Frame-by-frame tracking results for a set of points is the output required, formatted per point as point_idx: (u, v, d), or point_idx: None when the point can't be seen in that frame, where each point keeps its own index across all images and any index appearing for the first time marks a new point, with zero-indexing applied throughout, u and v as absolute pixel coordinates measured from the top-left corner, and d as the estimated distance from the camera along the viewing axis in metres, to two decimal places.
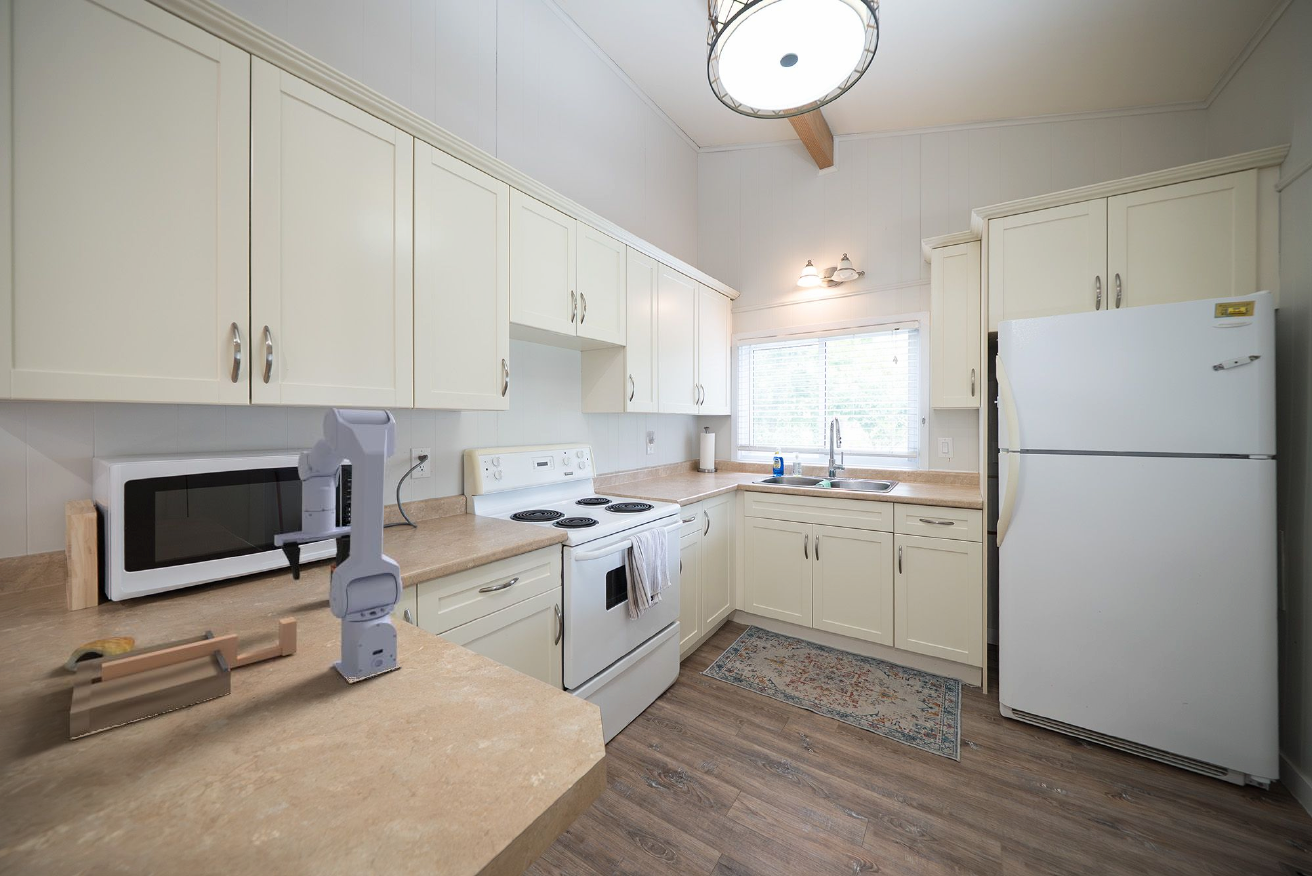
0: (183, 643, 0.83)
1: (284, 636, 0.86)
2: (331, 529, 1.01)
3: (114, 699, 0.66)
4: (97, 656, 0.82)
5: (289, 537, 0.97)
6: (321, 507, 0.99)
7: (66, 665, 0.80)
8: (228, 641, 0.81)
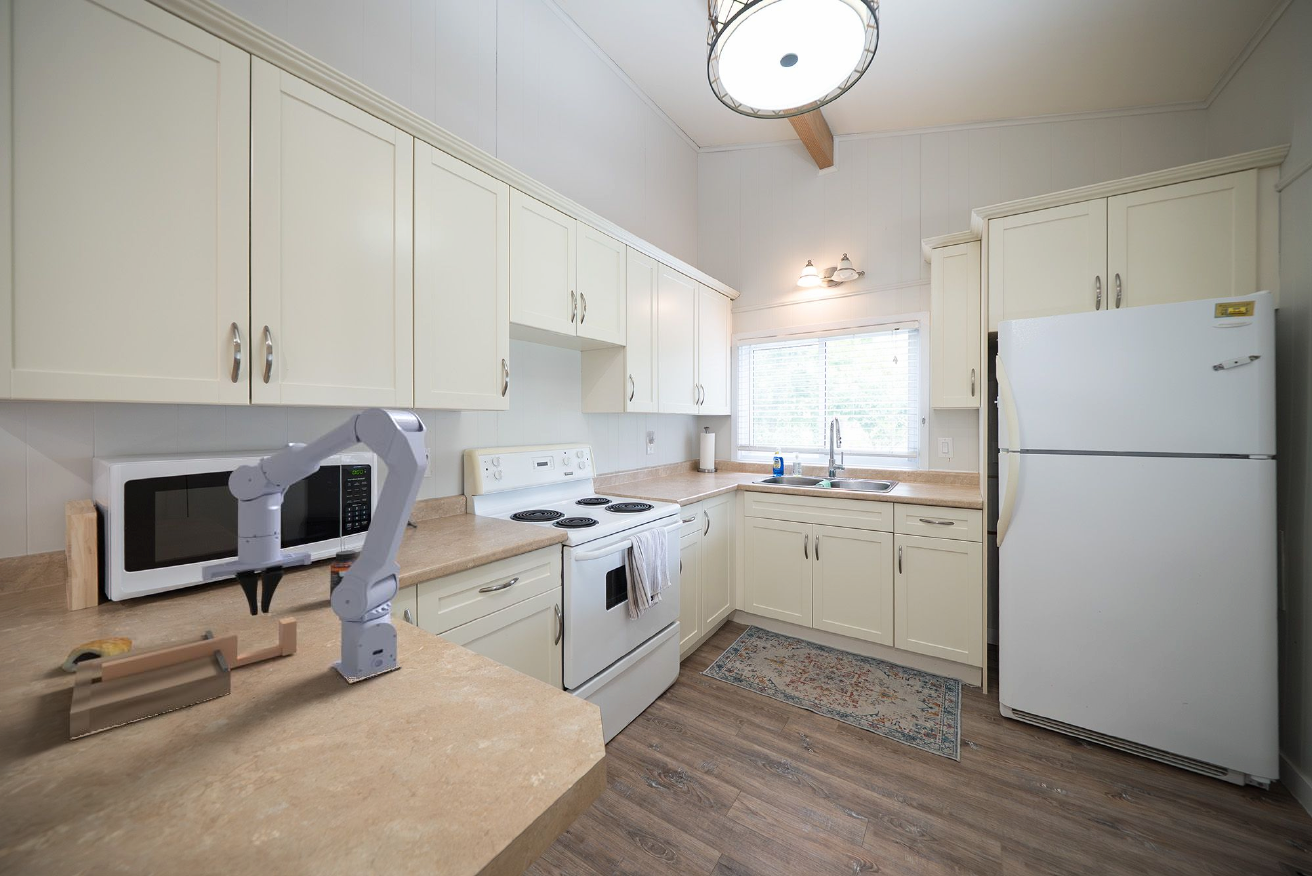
0: (183, 643, 0.83)
1: (284, 636, 0.86)
2: (275, 558, 0.84)
3: (114, 699, 0.66)
4: (94, 657, 0.82)
5: (220, 570, 0.80)
6: (273, 530, 0.84)
7: (63, 665, 0.80)
8: (228, 641, 0.81)
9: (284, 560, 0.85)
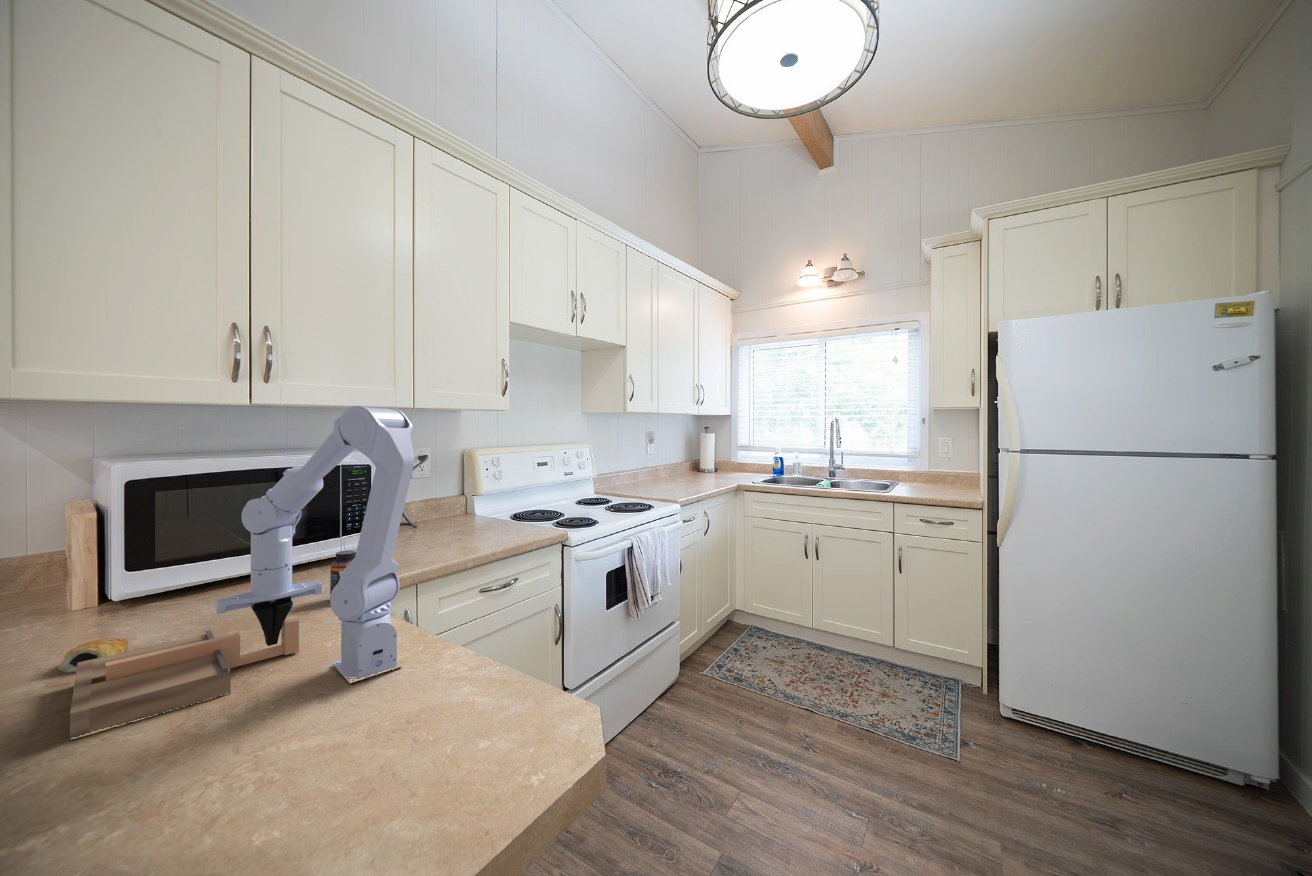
0: (183, 643, 0.83)
1: (286, 635, 0.86)
2: (287, 590, 0.86)
3: (114, 699, 0.66)
4: (91, 657, 0.81)
5: (233, 603, 0.81)
6: (284, 562, 0.85)
7: (60, 666, 0.80)
8: (231, 640, 0.81)
9: (296, 591, 0.87)
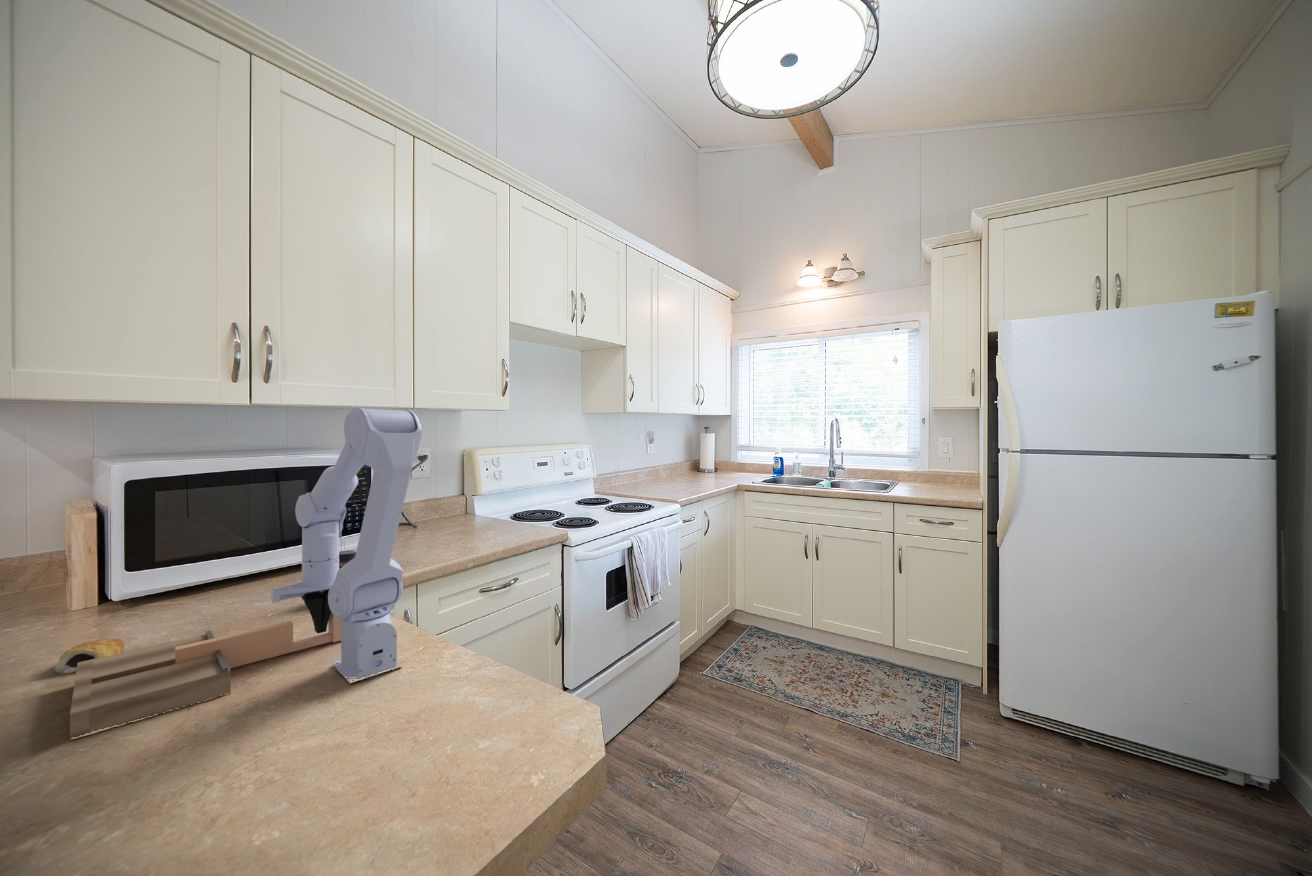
0: (183, 643, 0.83)
1: (334, 624, 0.92)
2: (335, 581, 0.91)
3: (114, 699, 0.66)
4: (88, 658, 0.81)
5: (287, 592, 0.86)
6: (327, 556, 0.89)
7: (56, 667, 0.79)
8: (285, 628, 0.87)
9: None
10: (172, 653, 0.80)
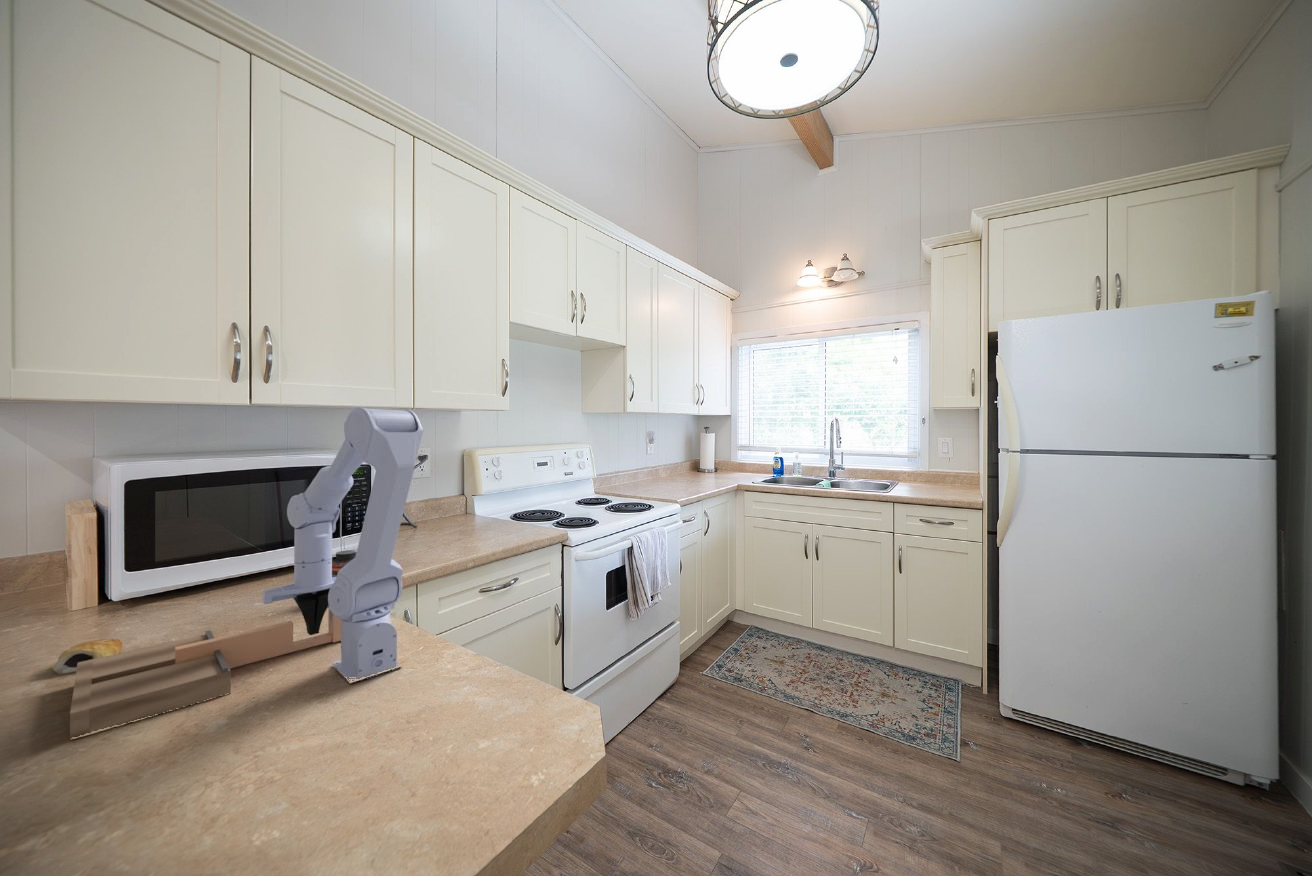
0: (183, 643, 0.83)
1: (334, 624, 0.92)
2: (327, 582, 0.90)
3: (114, 699, 0.66)
4: (86, 658, 0.81)
5: (279, 594, 0.86)
6: (320, 557, 0.89)
7: (54, 668, 0.79)
8: (285, 628, 0.87)
9: None
10: (172, 653, 0.80)
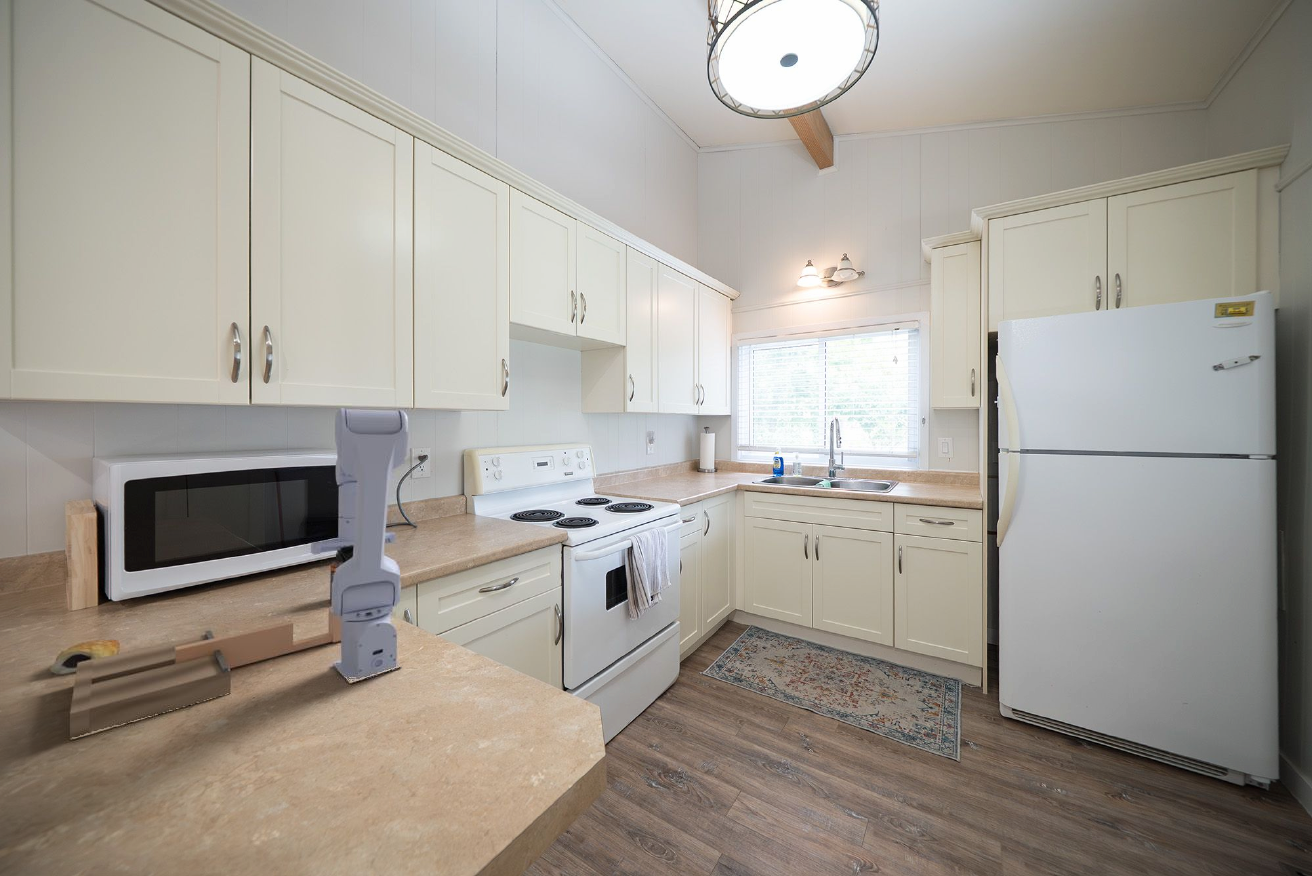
0: (183, 643, 0.83)
1: (334, 624, 0.92)
2: None
3: (114, 699, 0.66)
4: (84, 658, 0.81)
5: (326, 545, 0.93)
6: (355, 514, 0.95)
7: (52, 668, 0.79)
8: (285, 628, 0.87)
9: None
10: (172, 653, 0.80)
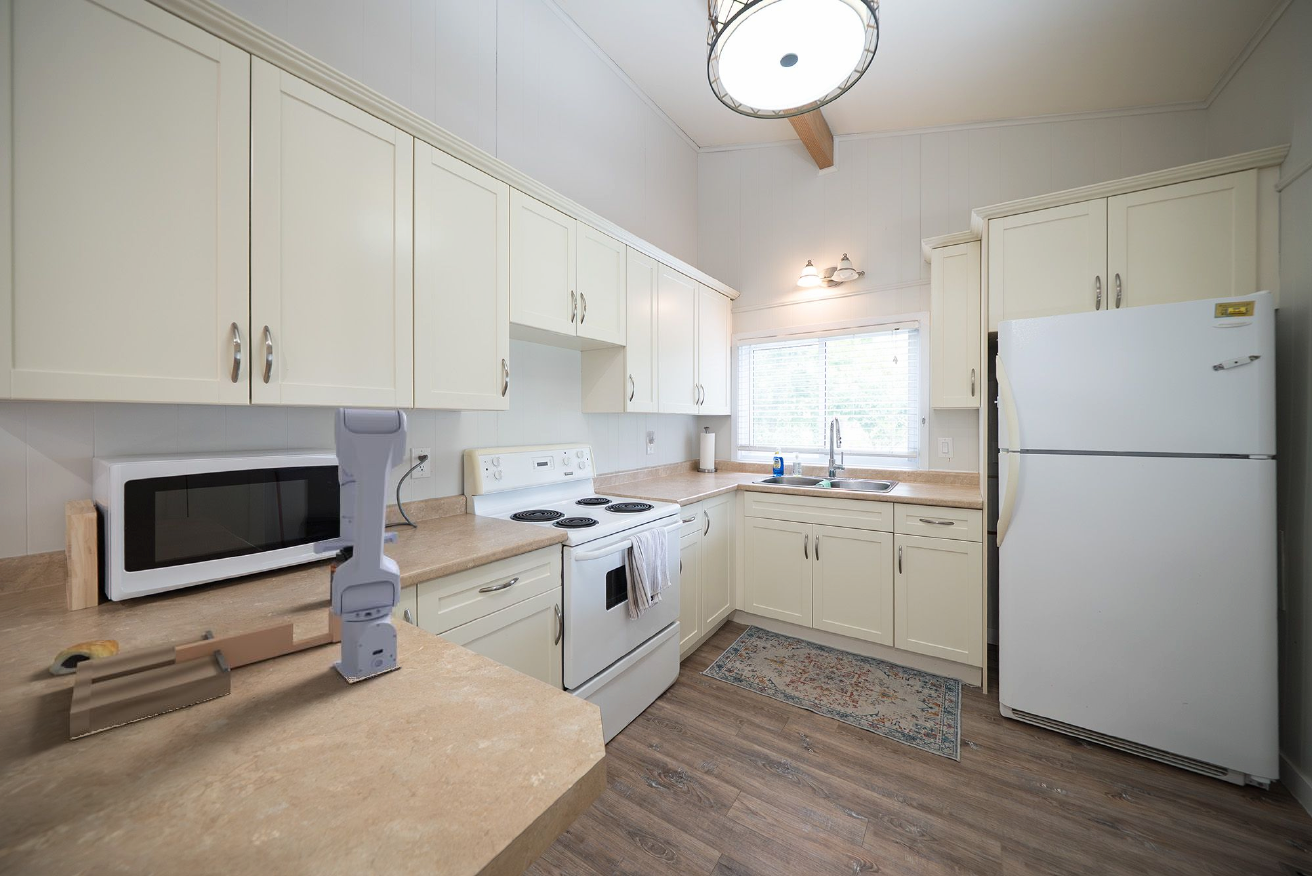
0: (183, 643, 0.83)
1: (334, 624, 0.92)
2: None
3: (114, 699, 0.66)
4: (83, 659, 0.81)
5: (329, 545, 0.94)
6: None
7: (51, 669, 0.79)
8: (285, 628, 0.87)
9: None
10: (172, 653, 0.80)
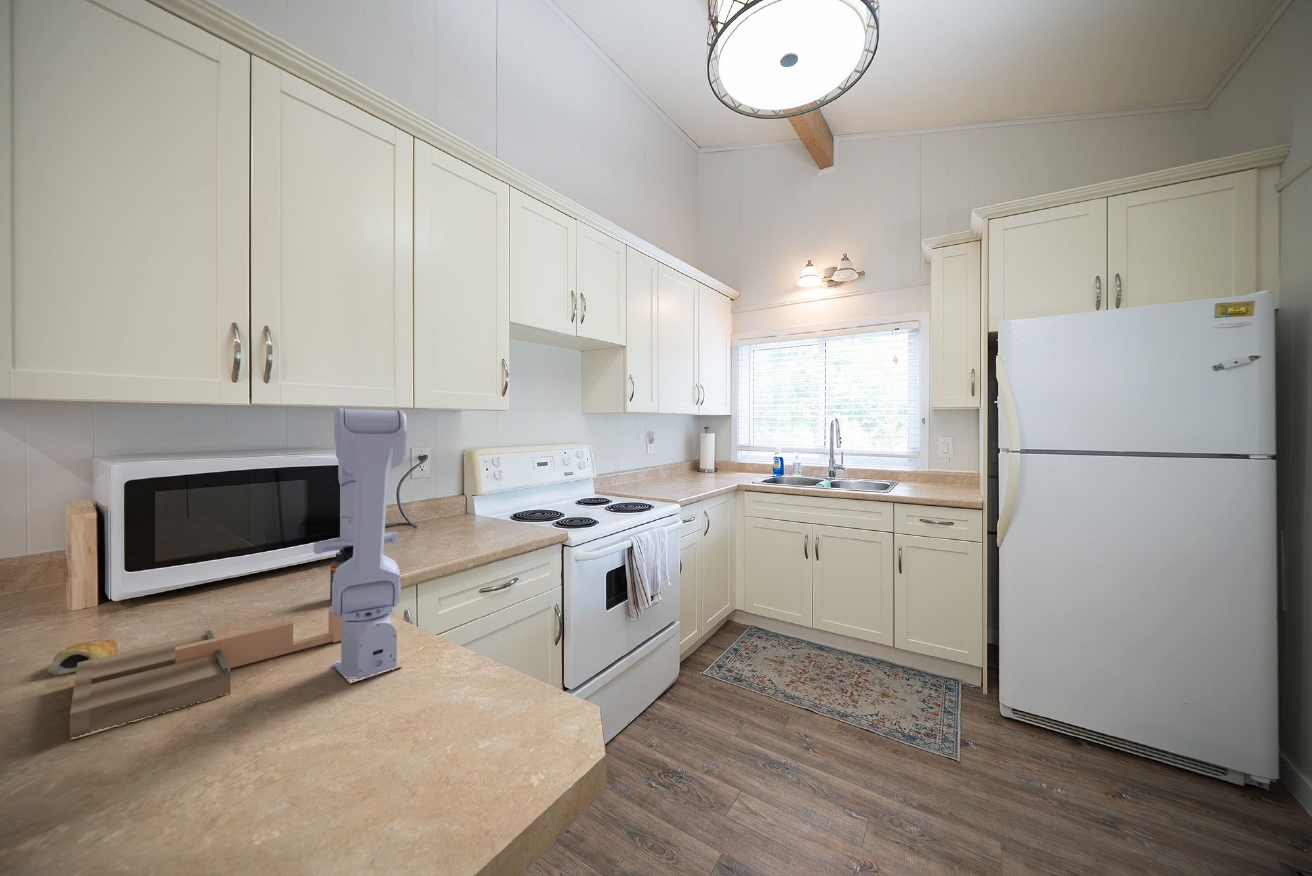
0: (183, 643, 0.83)
1: (334, 624, 0.92)
2: None
3: (114, 699, 0.66)
4: (82, 659, 0.81)
5: (329, 545, 0.94)
6: None
7: (49, 669, 0.79)
8: (285, 628, 0.87)
9: None
10: (172, 653, 0.80)
